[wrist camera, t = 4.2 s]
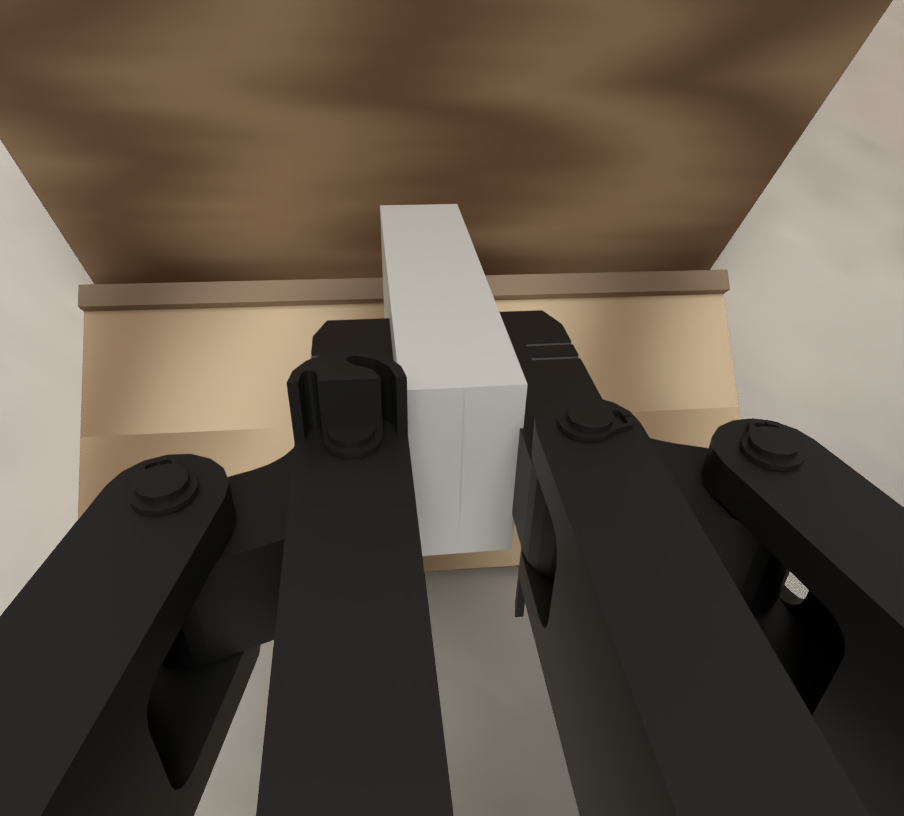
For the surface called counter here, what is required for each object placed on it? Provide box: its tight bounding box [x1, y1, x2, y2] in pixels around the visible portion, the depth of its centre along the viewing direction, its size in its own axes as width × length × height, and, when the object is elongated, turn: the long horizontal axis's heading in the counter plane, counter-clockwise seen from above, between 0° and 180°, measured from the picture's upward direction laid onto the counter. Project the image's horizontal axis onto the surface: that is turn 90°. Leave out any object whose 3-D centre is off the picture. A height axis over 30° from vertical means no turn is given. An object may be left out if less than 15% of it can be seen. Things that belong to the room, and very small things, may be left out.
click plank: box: [0, 0, 893, 284], centre depth 15 cm, size 18×2×13 cm, turn 93°
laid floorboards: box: [78, 270, 740, 572], centre depth 20 cm, size 18×8×2 cm, turn 93°
